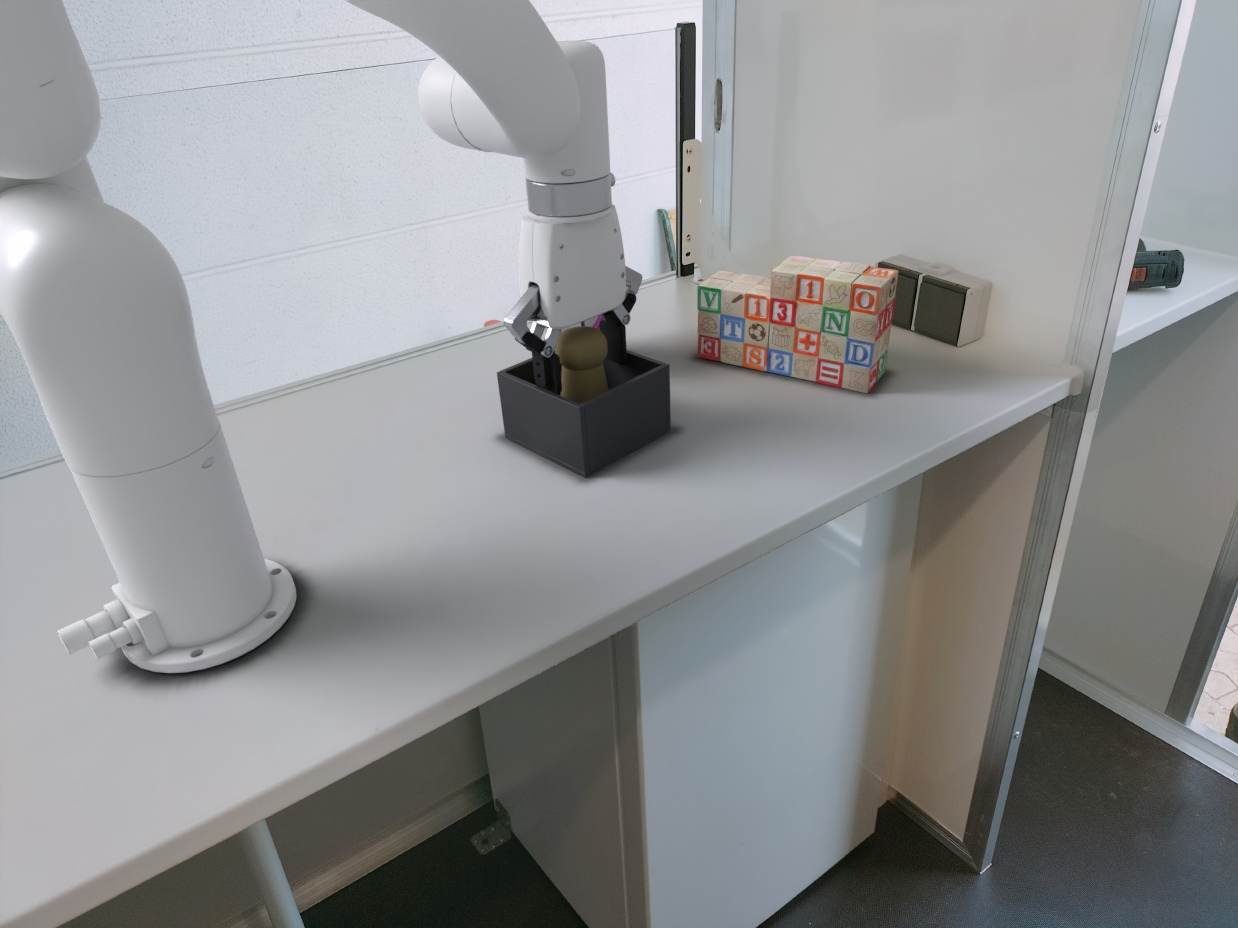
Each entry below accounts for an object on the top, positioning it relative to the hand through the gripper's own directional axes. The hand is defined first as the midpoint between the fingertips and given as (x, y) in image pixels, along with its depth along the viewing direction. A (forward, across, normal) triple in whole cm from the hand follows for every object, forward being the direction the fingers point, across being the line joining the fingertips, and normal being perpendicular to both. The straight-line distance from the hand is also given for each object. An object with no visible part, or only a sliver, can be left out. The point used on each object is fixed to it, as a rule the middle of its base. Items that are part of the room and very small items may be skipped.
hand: (582, 374), depth 85 cm
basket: (+7, 0, 0) cm, 7 cm away
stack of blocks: (+7, -27, +6) cm, 29 cm away
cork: (+7, 0, 0) cm, 7 cm away
